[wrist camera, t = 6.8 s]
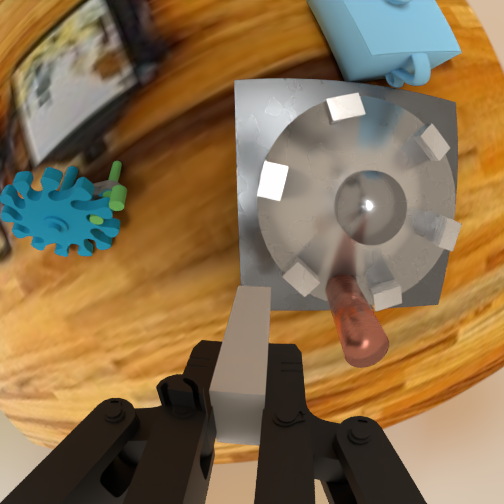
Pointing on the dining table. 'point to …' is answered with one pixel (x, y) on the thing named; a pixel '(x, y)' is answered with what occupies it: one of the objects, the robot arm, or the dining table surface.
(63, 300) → the dining table surface
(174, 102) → the dining table surface
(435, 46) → the teapot
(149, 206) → the dining table surface
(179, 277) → the dining table surface
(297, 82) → the base plate
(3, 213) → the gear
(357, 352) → the grey rounded piece
